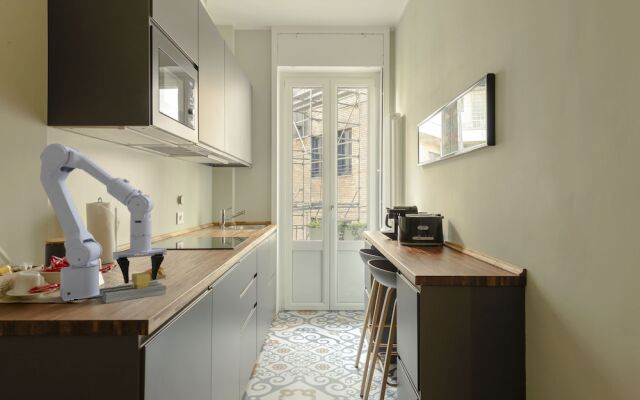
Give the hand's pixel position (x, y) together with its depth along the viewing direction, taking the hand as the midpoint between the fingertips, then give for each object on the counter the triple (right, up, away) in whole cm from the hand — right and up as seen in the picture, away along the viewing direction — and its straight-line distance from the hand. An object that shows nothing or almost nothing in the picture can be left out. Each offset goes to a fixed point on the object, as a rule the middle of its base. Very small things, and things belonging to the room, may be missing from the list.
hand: (140, 281), depth 112 cm
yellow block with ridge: (0, -3, 0) cm, 3 cm away
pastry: (-6, -4, +22) cm, 23 cm away
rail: (-1, -4, -1) cm, 4 cm away
